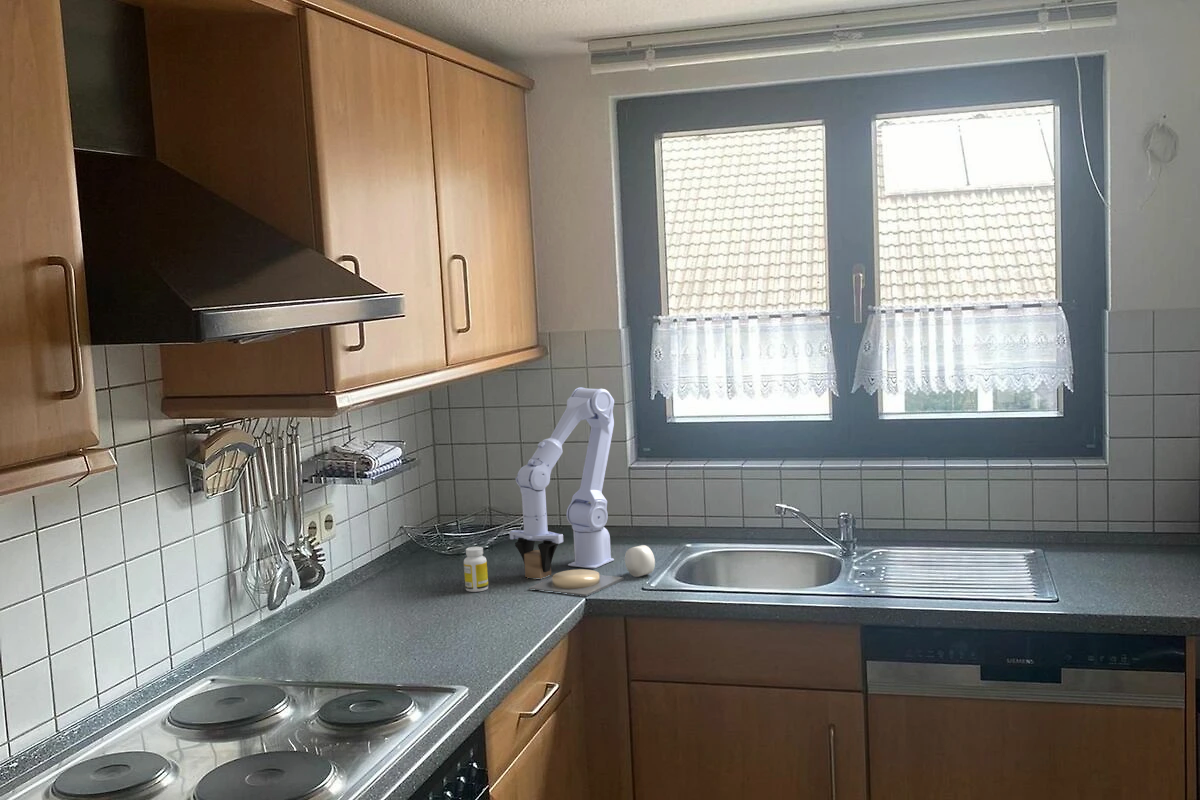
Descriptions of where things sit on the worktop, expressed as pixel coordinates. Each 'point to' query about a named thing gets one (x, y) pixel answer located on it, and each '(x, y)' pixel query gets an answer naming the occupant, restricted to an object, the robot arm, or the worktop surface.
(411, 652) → the worktop surface
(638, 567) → the white round ball
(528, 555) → the block
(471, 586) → the supplement bottle
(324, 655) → the worktop surface
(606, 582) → the base
